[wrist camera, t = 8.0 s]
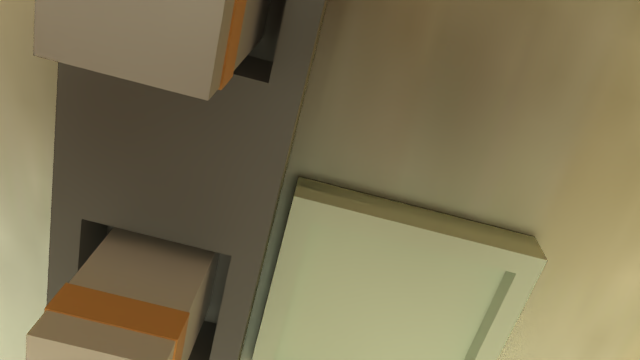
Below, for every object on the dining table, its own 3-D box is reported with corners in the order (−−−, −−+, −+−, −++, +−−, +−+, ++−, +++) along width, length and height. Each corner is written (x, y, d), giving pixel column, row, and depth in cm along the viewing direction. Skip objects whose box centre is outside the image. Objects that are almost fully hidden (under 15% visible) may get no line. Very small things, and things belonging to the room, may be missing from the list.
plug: (209, 308, 22) (149, 461, 16) (118, 286, 22) (22, 431, 16) (225, 231, 21) (166, 366, 15) (128, 206, 21) (24, 332, 14)
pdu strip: (365, -152, 16) (367, -208, 9) (238, 365, 24) (189, 540, 17) (123, -220, 16) (-64, -332, 9) (79, 327, 24) (-35, 490, 17)
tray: (534, 236, 21) (547, 260, 19) (451, 408, 25) (457, 438, 23) (298, 176, 20) (293, 195, 19) (251, 359, 24) (244, 387, 23)
